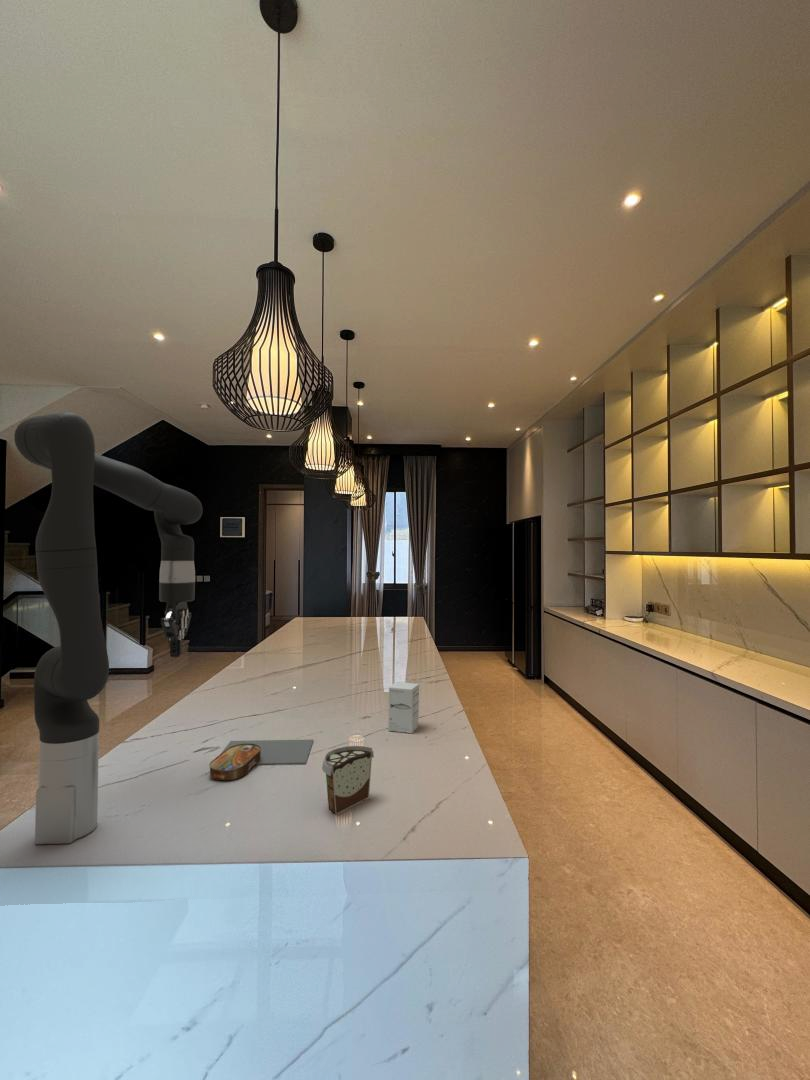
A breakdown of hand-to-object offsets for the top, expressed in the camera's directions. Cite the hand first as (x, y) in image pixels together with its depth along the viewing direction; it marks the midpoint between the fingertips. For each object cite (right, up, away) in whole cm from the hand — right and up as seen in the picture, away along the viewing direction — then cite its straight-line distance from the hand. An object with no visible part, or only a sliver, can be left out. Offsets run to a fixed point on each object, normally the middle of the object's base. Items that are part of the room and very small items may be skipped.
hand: (176, 656), depth 121 cm
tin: (+17, -26, +2) cm, 31 cm away
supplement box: (+52, -28, +32) cm, 67 cm away
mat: (+17, -28, +13) cm, 35 cm away
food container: (+40, -27, -14) cm, 50 cm away
